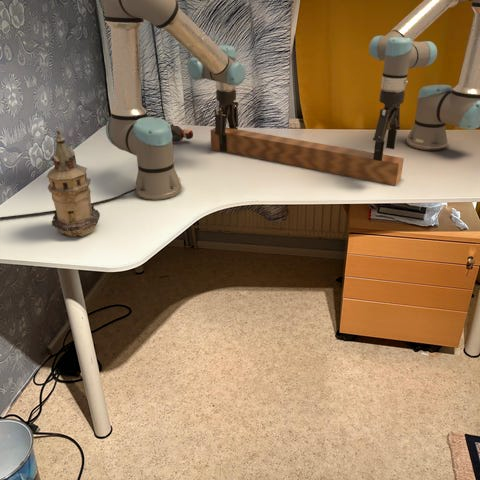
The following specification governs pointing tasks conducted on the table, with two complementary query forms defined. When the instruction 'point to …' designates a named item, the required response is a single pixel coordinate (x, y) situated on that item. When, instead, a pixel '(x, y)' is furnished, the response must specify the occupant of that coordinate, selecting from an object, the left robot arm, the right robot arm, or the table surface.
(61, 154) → the miniature building
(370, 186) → the table surface
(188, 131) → the toy
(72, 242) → the table surface
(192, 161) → the table surface
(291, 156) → the beam
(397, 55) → the right robot arm
